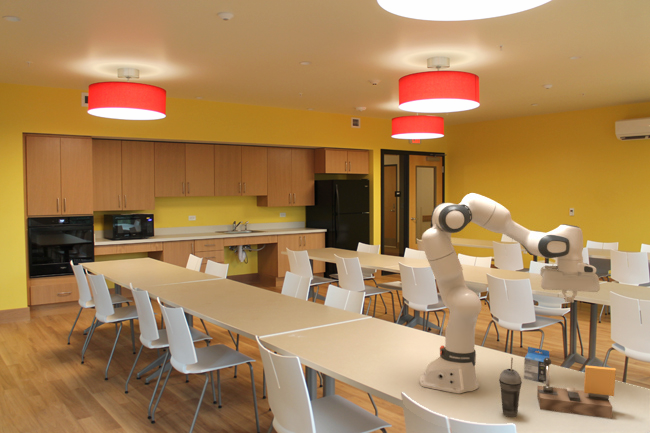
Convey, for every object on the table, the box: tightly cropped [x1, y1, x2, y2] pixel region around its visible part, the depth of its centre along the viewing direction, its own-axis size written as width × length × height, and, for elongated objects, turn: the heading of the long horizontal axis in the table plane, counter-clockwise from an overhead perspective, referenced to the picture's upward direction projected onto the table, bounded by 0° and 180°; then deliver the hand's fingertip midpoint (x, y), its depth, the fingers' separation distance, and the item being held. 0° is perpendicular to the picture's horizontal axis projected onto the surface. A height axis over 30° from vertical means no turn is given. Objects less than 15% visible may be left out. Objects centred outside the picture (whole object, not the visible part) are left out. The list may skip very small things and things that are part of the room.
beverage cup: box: [498, 356, 523, 419], centre depth 166 cm, size 7×7×20 cm
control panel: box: [536, 385, 613, 419], centre depth 173 cm, size 22×12×5 cm, turn 71°
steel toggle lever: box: [542, 358, 553, 392], centre depth 177 cm, size 3×3×12 cm
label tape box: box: [523, 346, 551, 384], centre depth 199 cm, size 9×4×12 cm, turn 46°
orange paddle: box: [583, 365, 617, 400], centre depth 169 cm, size 9×2×11 cm, turn 71°
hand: (569, 302), depth 190 cm, fingers closed
